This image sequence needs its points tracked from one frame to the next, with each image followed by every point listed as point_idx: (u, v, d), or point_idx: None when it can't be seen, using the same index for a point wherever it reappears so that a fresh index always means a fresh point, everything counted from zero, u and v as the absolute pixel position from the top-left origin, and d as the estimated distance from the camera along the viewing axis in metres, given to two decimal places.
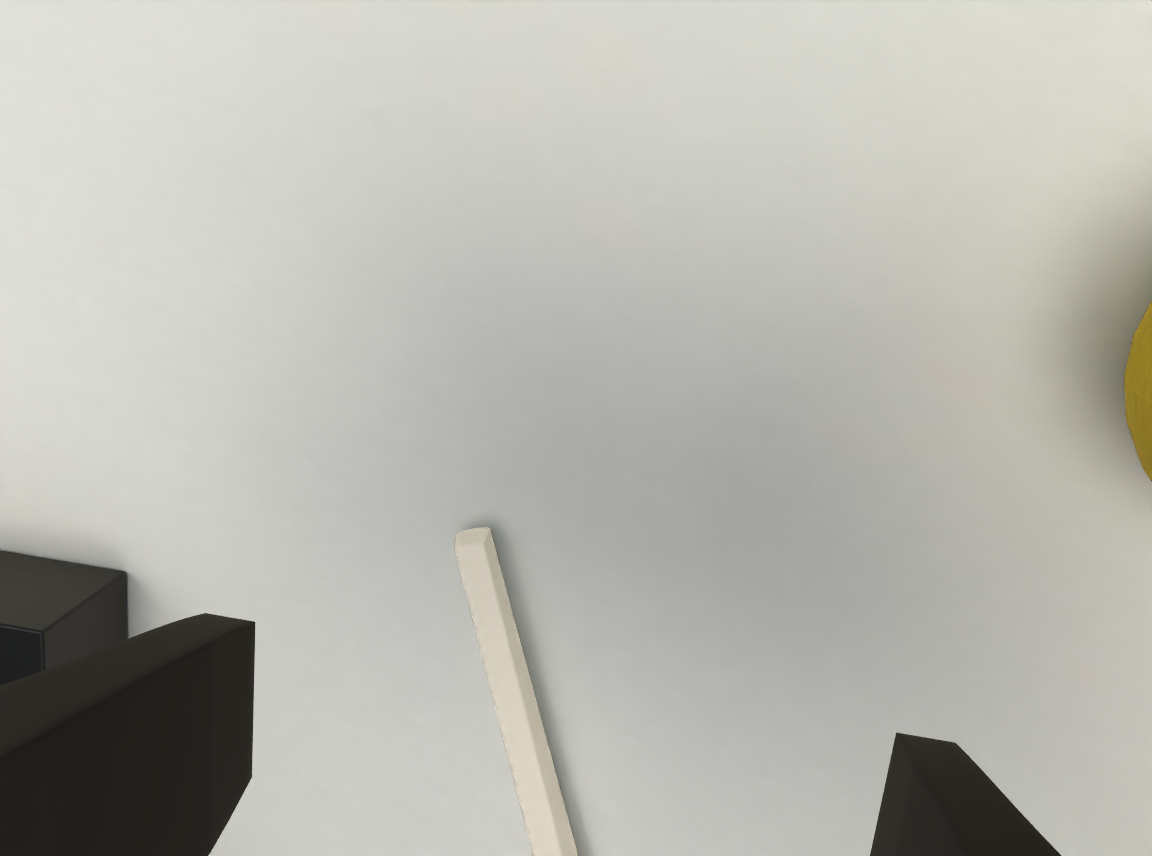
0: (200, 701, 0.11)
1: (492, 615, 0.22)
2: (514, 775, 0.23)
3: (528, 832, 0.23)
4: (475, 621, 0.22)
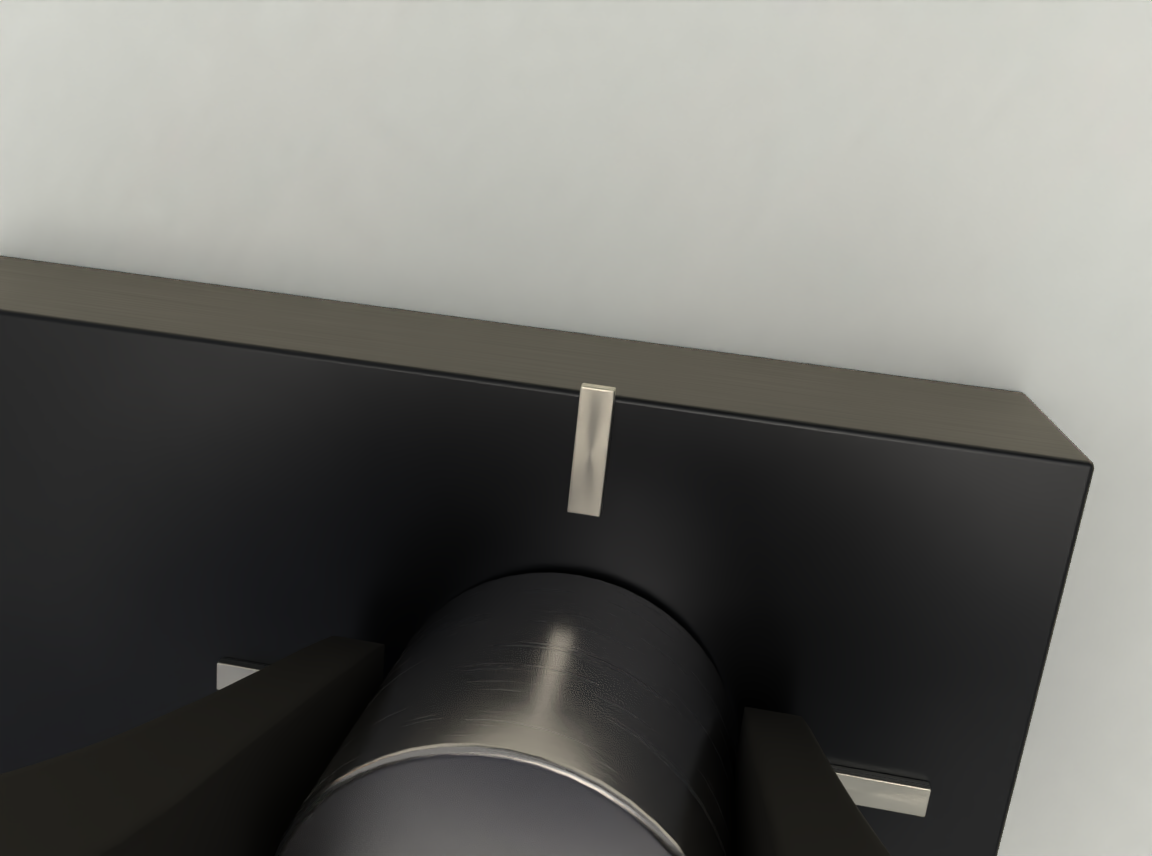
0: (341, 727, 0.11)
1: None
2: None
3: None
4: None
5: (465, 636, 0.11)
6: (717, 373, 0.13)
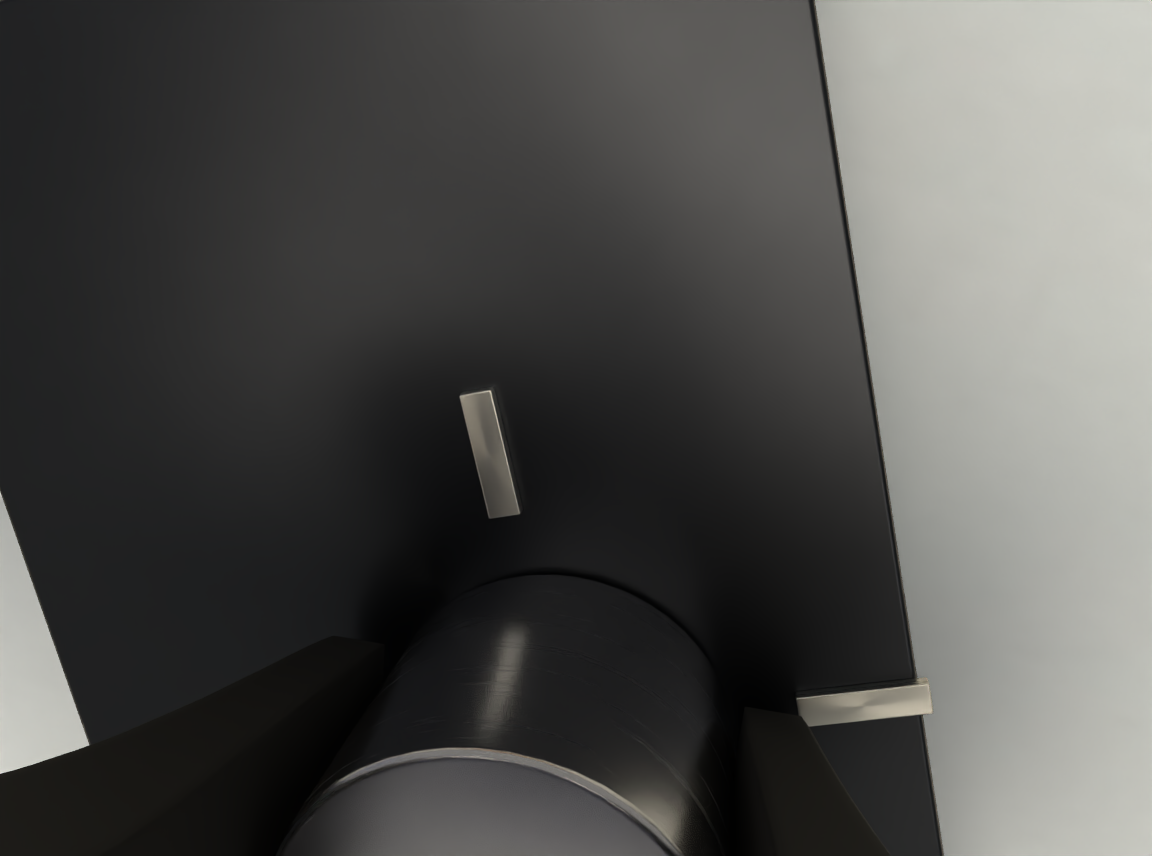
0: (341, 727, 0.11)
1: None
2: None
3: None
4: None
5: (467, 638, 0.11)
6: None
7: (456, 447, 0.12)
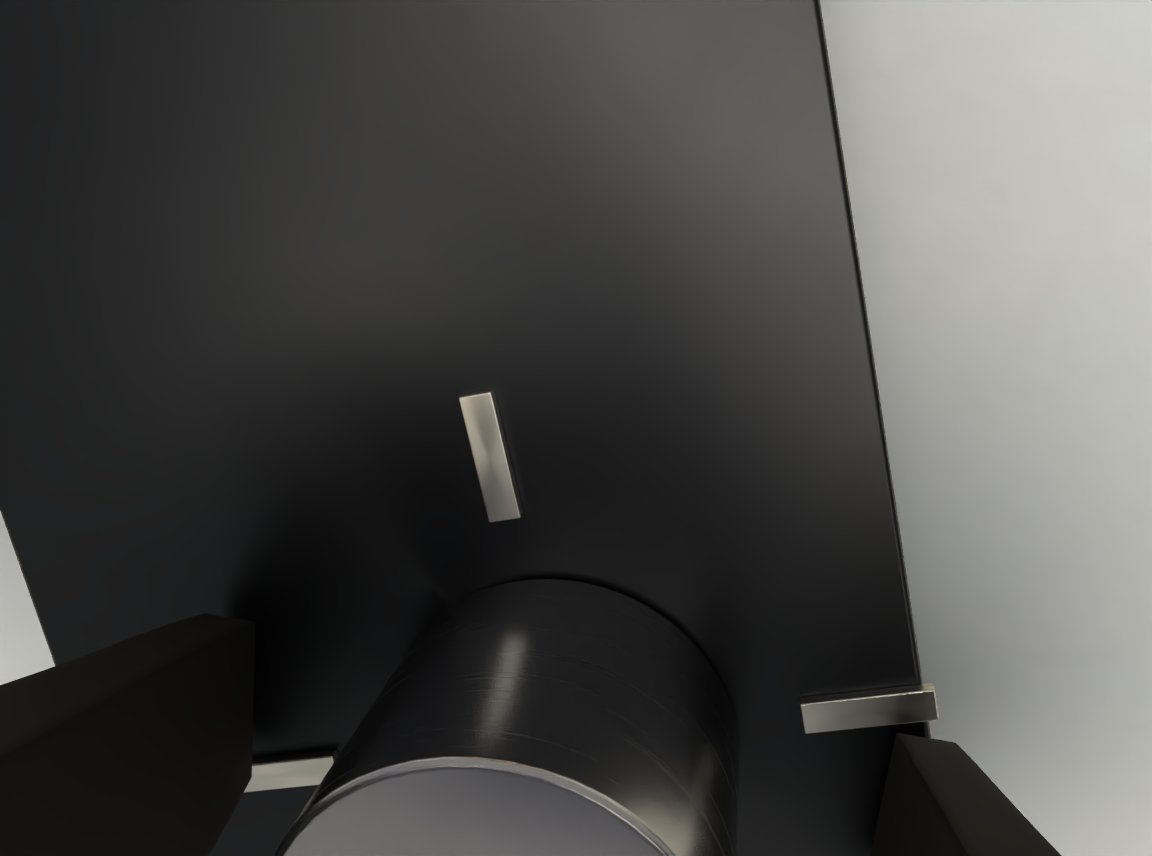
0: (200, 701, 0.11)
1: None
2: None
3: None
4: None
5: (466, 643, 0.11)
6: None
7: (456, 450, 0.12)
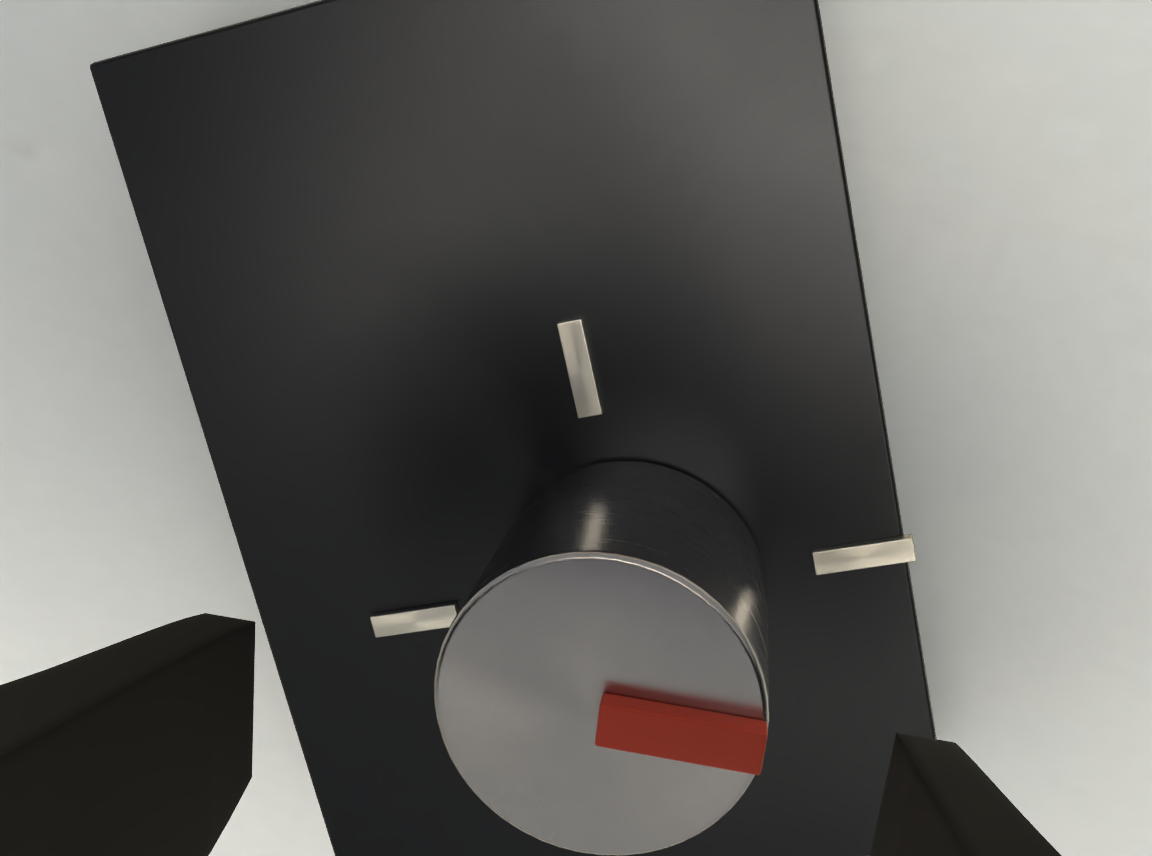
0: (200, 701, 0.11)
1: None
2: None
3: None
4: None
5: (569, 498, 0.14)
6: None
7: (553, 364, 0.16)
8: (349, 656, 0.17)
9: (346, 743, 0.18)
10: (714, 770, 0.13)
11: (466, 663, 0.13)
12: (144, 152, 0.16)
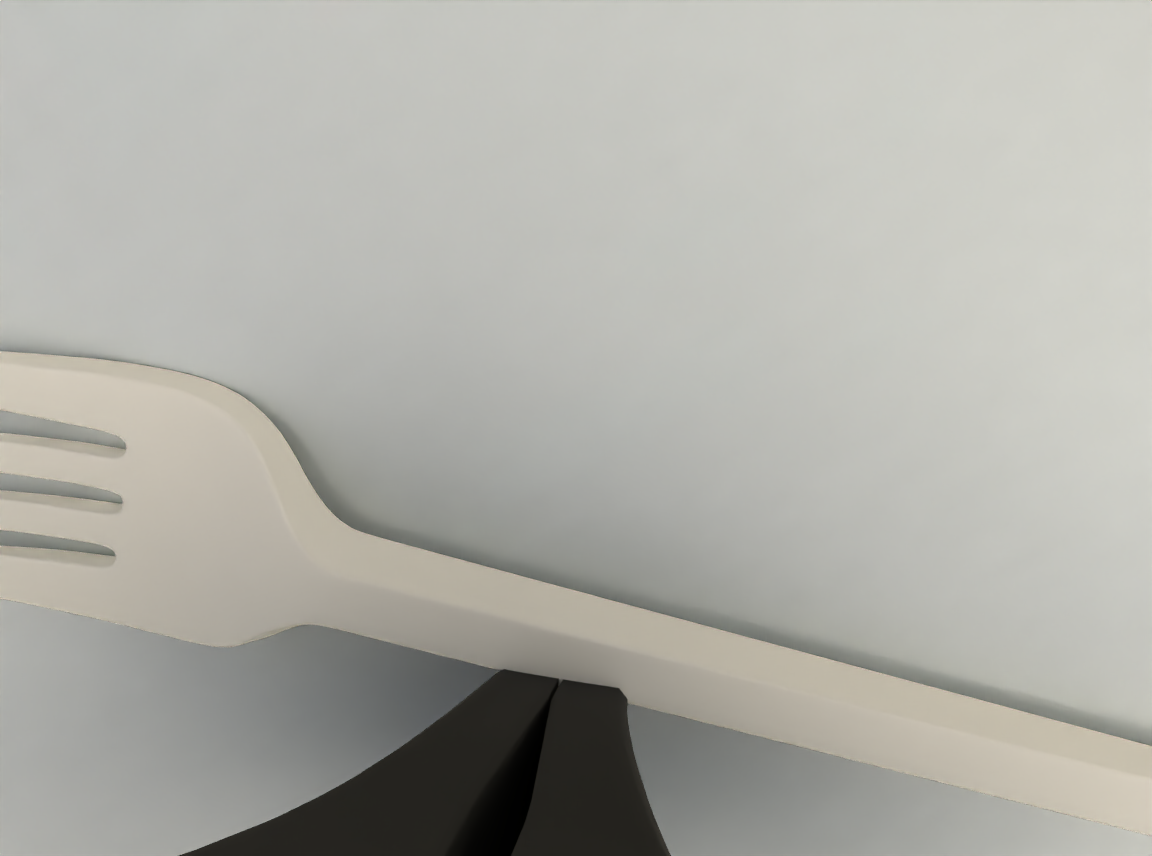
0: (535, 762, 0.11)
1: None
2: (1079, 766, 0.11)
3: (948, 730, 0.11)
4: None
5: None
6: None
7: None
8: None
9: None
10: None
11: None
12: None
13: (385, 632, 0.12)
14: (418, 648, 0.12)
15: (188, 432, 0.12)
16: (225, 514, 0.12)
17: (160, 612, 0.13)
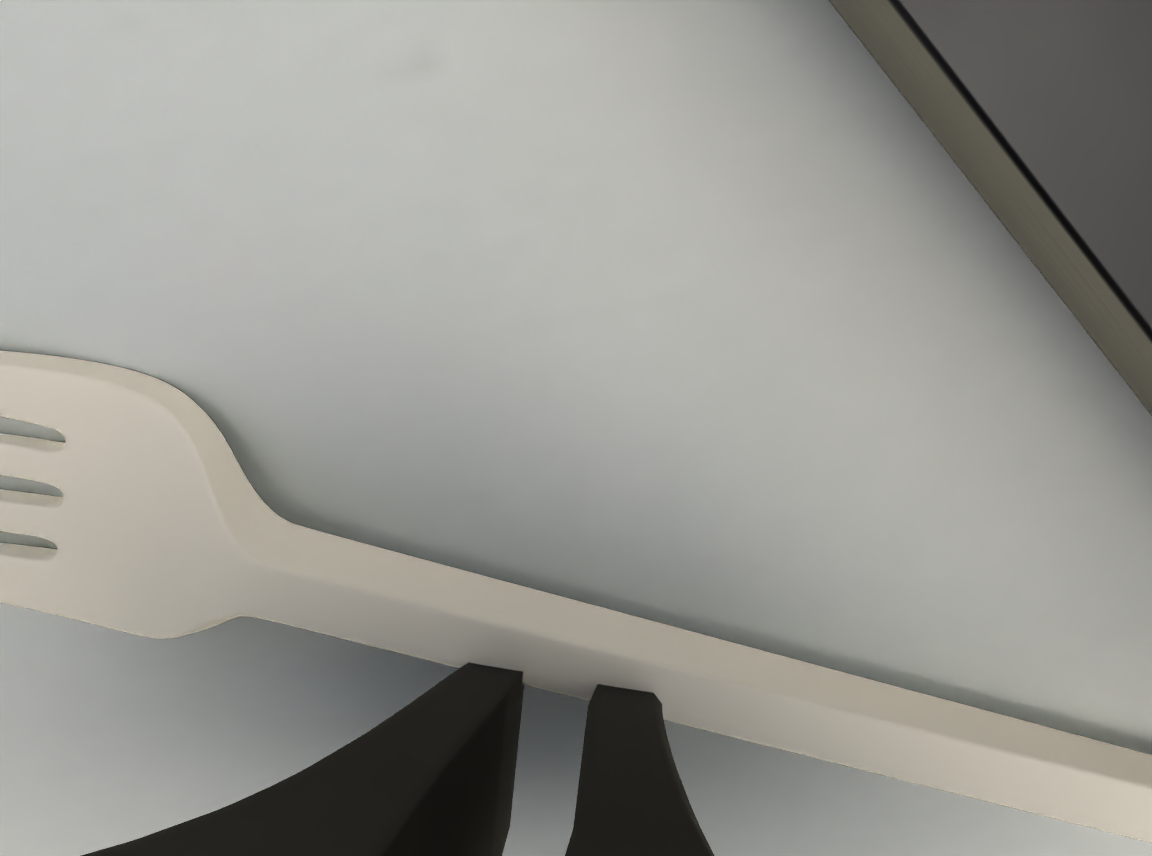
0: (495, 755, 0.11)
1: None
2: (1001, 754, 0.11)
3: (872, 719, 0.11)
4: None
5: None
6: None
7: None
8: None
9: None
10: None
11: None
12: None
13: (317, 623, 0.12)
14: (350, 639, 0.12)
15: (124, 426, 0.12)
16: (162, 507, 0.13)
17: (102, 604, 0.13)
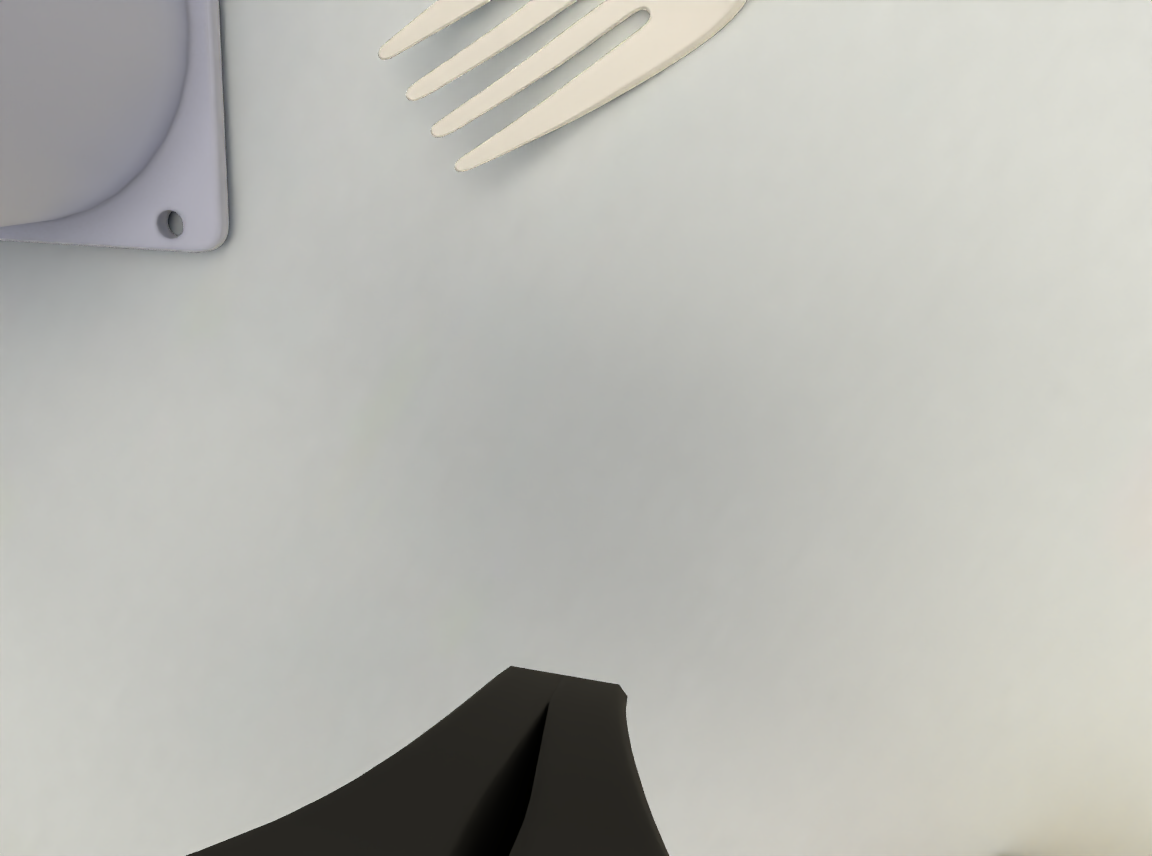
0: (538, 763, 0.11)
1: None
2: None
3: None
4: None
5: None
6: None
7: None
8: None
9: None
10: None
11: None
12: None
13: None
14: None
15: None
16: None
17: (697, 13, 0.18)
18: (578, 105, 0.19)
